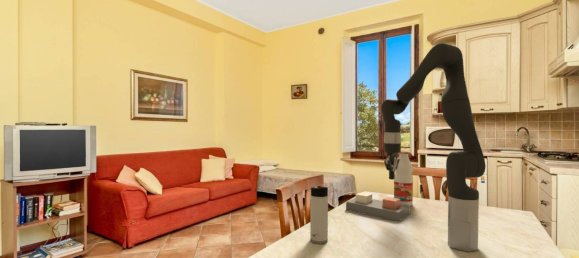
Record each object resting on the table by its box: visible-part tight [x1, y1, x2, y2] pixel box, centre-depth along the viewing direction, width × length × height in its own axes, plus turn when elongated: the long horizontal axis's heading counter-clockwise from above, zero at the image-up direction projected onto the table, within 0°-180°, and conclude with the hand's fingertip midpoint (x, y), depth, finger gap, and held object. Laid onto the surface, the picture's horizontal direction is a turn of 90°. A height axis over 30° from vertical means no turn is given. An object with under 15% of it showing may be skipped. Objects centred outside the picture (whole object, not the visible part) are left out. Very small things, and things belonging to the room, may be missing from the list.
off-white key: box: [355, 191, 373, 204], centre depth 149 cm, size 6×6×4 cm
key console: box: [345, 197, 411, 222], centre depth 145 cm, size 14×26×4 cm, turn 49°
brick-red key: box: [382, 196, 400, 209], centre depth 140 cm, size 6×6×4 cm
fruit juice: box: [393, 150, 414, 207], centre depth 159 cm, size 9×9×28 cm
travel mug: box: [309, 186, 329, 245], centre depth 109 cm, size 6×7×20 cm
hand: (391, 179), depth 140 cm, fingers closed
